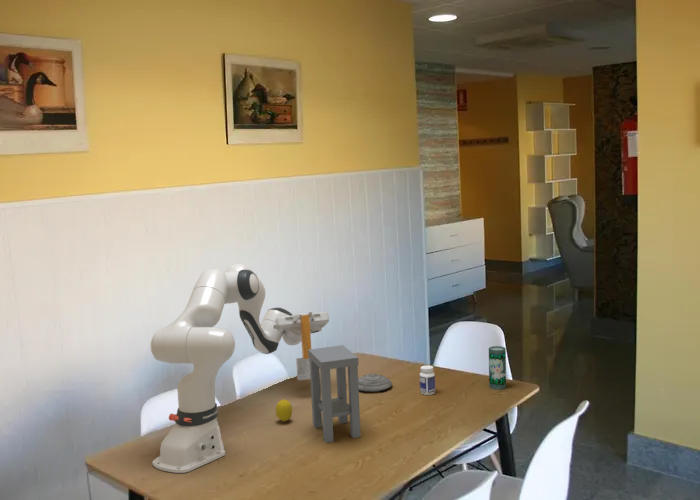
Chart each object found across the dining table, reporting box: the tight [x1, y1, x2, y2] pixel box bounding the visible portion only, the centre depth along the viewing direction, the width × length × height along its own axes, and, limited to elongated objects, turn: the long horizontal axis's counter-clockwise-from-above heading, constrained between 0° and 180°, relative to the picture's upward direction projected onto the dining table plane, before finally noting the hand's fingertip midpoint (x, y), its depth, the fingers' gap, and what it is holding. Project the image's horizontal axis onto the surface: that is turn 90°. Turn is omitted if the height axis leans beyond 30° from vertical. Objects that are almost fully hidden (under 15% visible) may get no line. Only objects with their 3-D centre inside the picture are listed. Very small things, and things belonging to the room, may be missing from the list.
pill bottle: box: [419, 364, 436, 396], centre depth 249 cm, size 6×6×10 cm
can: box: [488, 345, 507, 391], centre depth 252 cm, size 6×6×15 cm
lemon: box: [275, 398, 293, 423], centre depth 226 cm, size 6×6×8 cm
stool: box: [308, 344, 361, 444], centre depth 215 cm, size 16×12×26 cm
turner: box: [295, 313, 312, 382], centre depth 248 cm, size 24×8×2 cm
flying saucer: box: [358, 373, 393, 393], centre depth 258 cm, size 15×15×6 cm
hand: (305, 314), depth 245 cm, fingers closed on turner, 3 cm apart
